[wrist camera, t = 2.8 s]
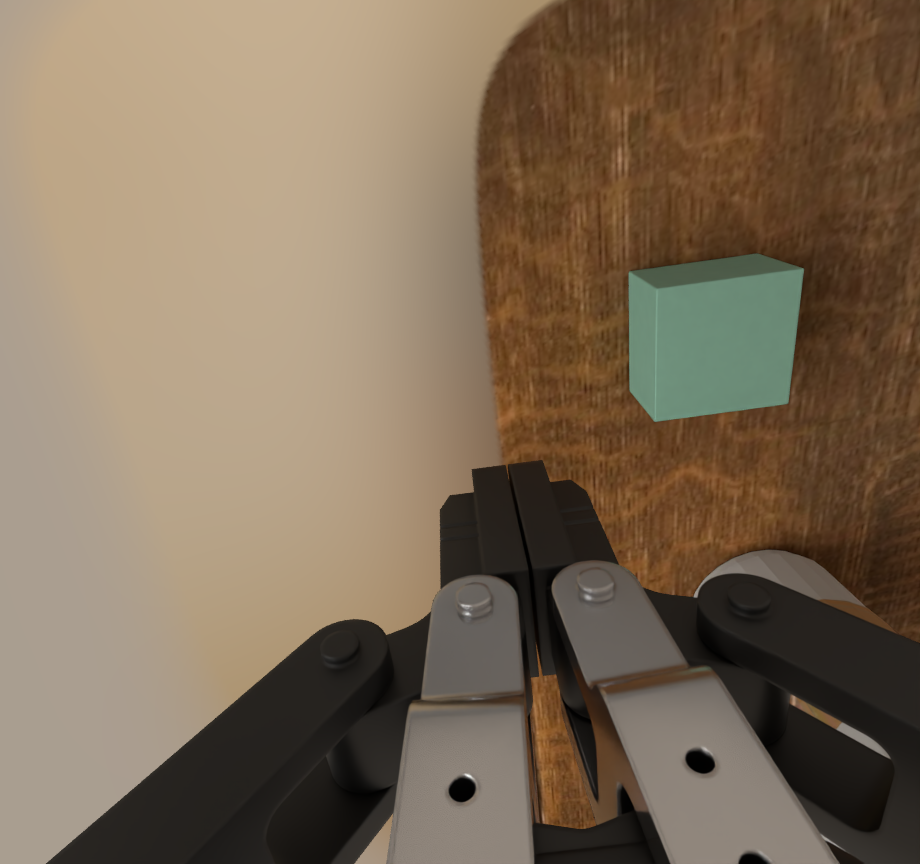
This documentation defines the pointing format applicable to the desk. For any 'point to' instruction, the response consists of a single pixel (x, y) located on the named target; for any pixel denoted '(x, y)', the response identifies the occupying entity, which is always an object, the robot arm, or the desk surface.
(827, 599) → the coffee cup
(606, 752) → the robot arm
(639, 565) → the desk surface
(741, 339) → the block
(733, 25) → the desk surface
